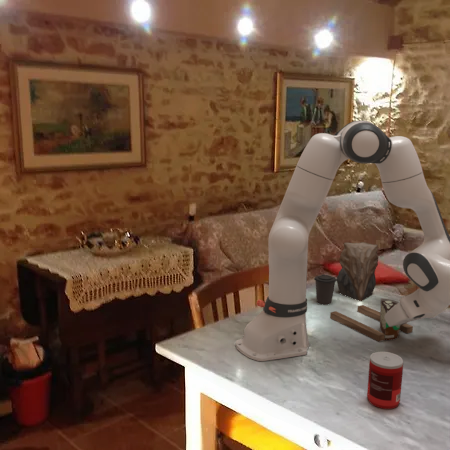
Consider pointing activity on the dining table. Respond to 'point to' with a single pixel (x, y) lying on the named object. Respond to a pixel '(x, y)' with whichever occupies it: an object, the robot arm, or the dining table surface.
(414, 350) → the dining table surface
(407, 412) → the dining table surface
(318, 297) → the coffee cup
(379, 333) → the walnut bay
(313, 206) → the robot arm
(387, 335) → the food container
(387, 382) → the canned food
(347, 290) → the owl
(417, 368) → the dining table surface
